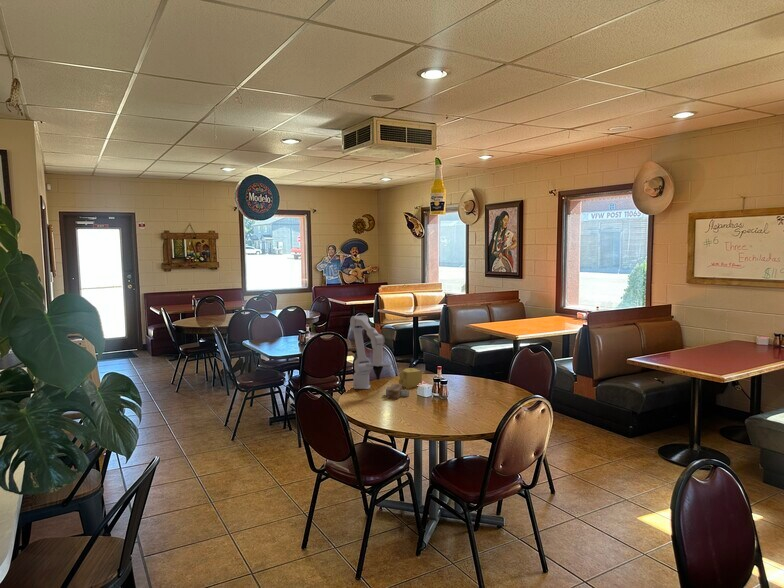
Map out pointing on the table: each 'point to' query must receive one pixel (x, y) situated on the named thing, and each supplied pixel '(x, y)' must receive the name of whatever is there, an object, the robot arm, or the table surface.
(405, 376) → the cheese
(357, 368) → the robot arm
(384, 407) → the table surface
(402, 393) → the steel key pin
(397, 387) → the walnut tunnel block
